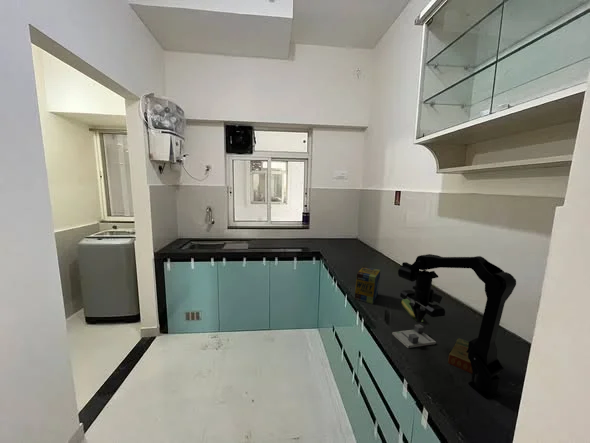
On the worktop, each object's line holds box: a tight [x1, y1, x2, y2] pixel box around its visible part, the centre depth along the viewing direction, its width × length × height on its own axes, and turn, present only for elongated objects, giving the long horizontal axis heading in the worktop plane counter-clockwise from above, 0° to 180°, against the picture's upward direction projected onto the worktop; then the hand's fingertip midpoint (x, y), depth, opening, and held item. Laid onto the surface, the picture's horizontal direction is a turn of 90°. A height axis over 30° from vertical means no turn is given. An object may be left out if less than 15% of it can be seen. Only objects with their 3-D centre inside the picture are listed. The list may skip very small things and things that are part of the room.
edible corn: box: [400, 298, 424, 323], centre depth 138 cm, size 5×20×5 cm
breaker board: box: [392, 329, 437, 349], centre depth 115 cm, size 10×14×1 cm
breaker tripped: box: [408, 334, 419, 344], centre depth 111 cm, size 3×3×2 cm
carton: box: [447, 338, 472, 375], centre depth 104 cm, size 8×16×4 cm, turn 138°
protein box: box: [354, 266, 381, 305], centre depth 155 cm, size 10×15×16 cm
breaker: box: [412, 323, 425, 333], centre depth 119 cm, size 3×3×2 cm
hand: (418, 322), depth 109 cm, fingers closed
